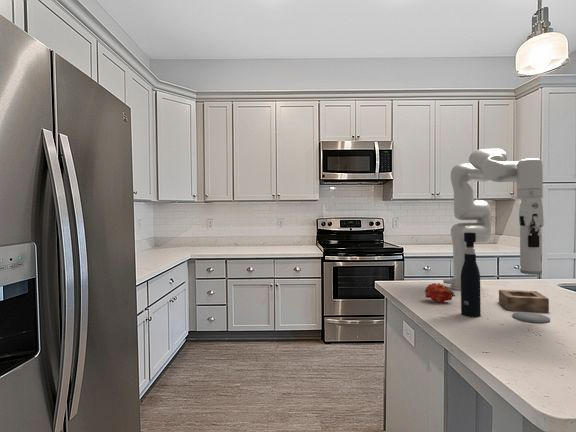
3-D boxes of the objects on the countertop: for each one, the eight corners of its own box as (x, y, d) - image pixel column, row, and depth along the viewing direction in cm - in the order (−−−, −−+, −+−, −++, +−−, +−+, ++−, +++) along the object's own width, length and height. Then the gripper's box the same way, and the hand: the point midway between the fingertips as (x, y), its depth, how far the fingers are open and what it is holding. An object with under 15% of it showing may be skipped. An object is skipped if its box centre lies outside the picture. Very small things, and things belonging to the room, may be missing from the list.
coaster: (517, 322, 124) (517, 320, 124) (508, 313, 134) (508, 311, 134) (555, 324, 120) (555, 322, 120) (543, 314, 131) (543, 313, 131)
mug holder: (507, 310, 138) (507, 296, 138) (499, 301, 150) (498, 289, 150) (548, 312, 134) (548, 298, 134) (536, 303, 146) (536, 291, 146)
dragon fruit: (423, 303, 156) (452, 311, 149) (419, 295, 150) (450, 303, 143) (428, 285, 160) (458, 292, 153) (425, 276, 154) (455, 284, 147)
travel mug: (515, 272, 130) (514, 216, 129) (532, 271, 130) (532, 215, 130) (528, 275, 123) (527, 216, 123) (546, 274, 124) (546, 215, 124)
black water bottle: (479, 313, 135) (478, 232, 134) (482, 318, 129) (481, 233, 128) (460, 311, 137) (459, 232, 136) (462, 316, 131) (461, 233, 130)
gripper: (552, 193, 117) (552, 249, 117) (533, 195, 134) (533, 243, 134) (525, 194, 119) (525, 248, 120) (510, 195, 136) (510, 243, 136)
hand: (530, 245), depth 127 cm, fingers closed on travel mug, 6 cm apart
